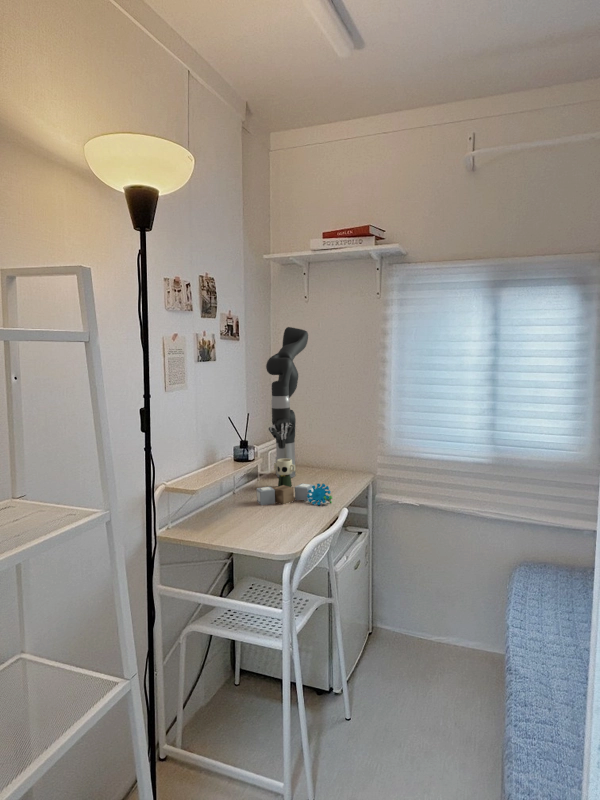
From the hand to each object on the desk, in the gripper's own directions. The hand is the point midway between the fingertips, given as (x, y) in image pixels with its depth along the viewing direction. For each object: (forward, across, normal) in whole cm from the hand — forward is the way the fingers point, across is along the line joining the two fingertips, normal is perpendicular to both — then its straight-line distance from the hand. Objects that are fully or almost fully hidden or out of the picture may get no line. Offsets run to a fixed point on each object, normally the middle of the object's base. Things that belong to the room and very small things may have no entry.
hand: (281, 448), depth 220 cm
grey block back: (+23, +8, -4) cm, 25 cm away
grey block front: (+23, -5, +5) cm, 24 cm away
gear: (+23, +8, -14) cm, 28 cm away
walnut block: (+23, 0, 0) cm, 23 cm away
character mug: (+23, +16, +14) cm, 31 cm away
